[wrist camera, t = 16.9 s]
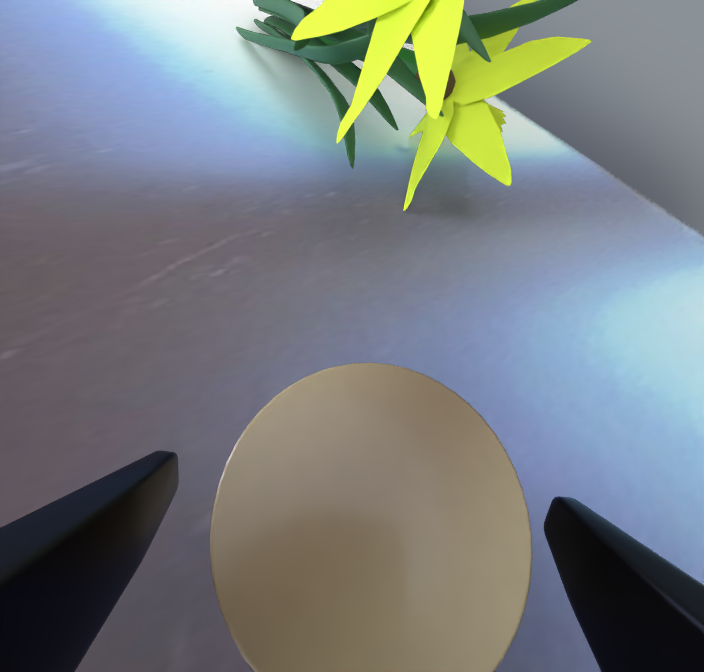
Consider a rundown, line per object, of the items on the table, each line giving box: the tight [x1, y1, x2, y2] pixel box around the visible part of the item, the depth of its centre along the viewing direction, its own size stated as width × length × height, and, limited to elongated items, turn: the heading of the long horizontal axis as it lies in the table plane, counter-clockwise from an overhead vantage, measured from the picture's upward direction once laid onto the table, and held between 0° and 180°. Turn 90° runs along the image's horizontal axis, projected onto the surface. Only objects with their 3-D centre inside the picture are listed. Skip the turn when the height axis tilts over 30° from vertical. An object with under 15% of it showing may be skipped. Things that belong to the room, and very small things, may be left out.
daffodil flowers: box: [236, 0, 591, 211], centre depth 21 cm, size 17×15×35 cm
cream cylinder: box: [210, 363, 532, 672], centre depth 10 cm, size 6×6×10 cm
